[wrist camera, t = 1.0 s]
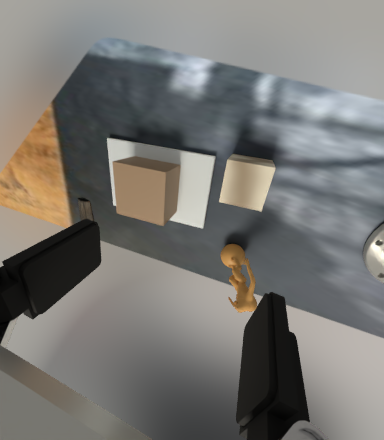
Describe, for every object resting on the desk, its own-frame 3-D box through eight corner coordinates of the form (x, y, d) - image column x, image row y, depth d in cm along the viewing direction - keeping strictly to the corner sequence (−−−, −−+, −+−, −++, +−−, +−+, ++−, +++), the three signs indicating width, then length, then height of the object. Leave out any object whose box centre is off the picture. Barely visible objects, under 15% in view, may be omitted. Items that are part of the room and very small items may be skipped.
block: (94, 198, 40) (88, 201, 38) (98, 224, 42) (92, 227, 41) (79, 196, 40) (72, 199, 38) (83, 221, 43) (77, 225, 41)
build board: (215, 156, 27) (205, 163, 22) (204, 226, 33) (193, 245, 28) (110, 137, 31) (79, 140, 26) (116, 203, 37) (92, 216, 31)
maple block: (272, 160, 25) (275, 167, 21) (260, 197, 28) (261, 211, 23) (232, 153, 26) (227, 159, 22) (225, 189, 29) (219, 201, 24)
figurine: (229, 226, 31) (215, 274, 21) (265, 236, 30) (269, 293, 20) (217, 262, 35) (201, 318, 25) (249, 273, 34) (245, 336, 24)
